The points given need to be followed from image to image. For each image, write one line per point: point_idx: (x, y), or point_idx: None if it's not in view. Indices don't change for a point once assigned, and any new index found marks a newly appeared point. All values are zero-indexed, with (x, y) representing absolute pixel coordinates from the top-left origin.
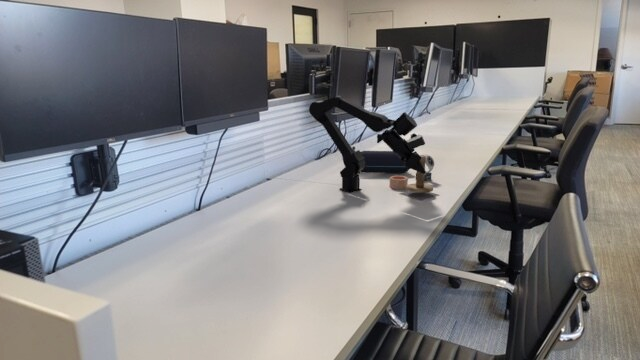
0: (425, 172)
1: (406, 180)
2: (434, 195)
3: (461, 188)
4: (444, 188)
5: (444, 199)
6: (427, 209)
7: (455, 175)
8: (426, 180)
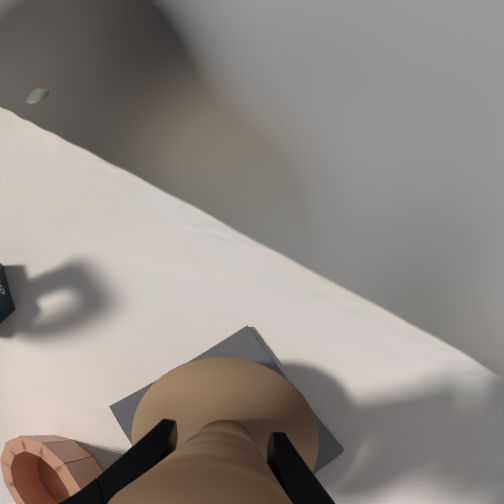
0: (282, 437)
1: (70, 465)
2: (255, 359)
3: (142, 192)
4: (120, 258)
5: (308, 322)
6: (440, 424)
7: (14, 173)
8: (8, 293)
